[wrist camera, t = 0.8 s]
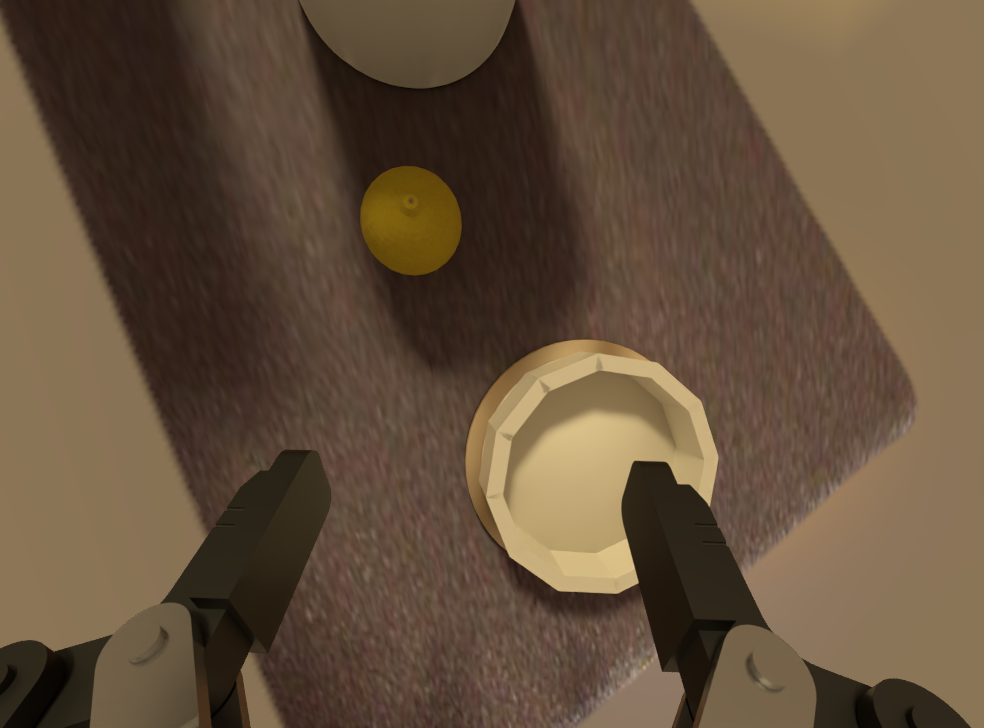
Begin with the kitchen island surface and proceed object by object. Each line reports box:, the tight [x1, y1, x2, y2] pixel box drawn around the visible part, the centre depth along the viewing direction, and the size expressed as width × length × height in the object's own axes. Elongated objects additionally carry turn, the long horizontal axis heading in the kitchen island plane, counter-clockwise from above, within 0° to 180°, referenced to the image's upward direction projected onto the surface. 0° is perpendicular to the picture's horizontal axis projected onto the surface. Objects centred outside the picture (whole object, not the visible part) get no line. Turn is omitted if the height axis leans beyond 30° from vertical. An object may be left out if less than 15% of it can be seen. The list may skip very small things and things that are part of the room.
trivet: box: [465, 340, 648, 551], centre depth 29 cm, size 17×17×1 cm
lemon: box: [360, 166, 462, 275], centre depth 22 cm, size 6×6×8 cm
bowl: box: [479, 351, 718, 594], centre depth 27 cm, size 15×15×4 cm
